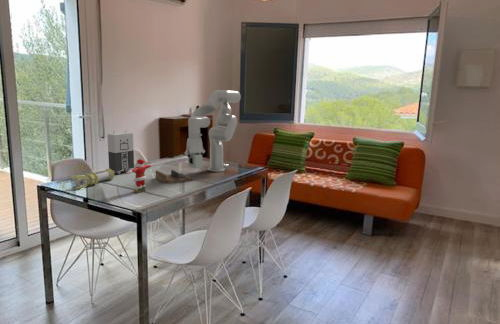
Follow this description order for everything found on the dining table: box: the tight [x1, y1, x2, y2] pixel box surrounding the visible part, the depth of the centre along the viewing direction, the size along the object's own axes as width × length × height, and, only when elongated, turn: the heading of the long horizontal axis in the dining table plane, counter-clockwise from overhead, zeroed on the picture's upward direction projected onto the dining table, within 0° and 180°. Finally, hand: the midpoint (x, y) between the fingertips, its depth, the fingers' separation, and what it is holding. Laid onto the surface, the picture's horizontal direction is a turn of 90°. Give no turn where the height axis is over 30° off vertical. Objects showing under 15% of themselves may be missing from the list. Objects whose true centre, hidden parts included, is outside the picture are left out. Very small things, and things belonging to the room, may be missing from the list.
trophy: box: [70, 168, 115, 190], centre depth 224 cm, size 8×8×30 cm
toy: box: [107, 129, 135, 175], centre depth 255 cm, size 15×7×30 cm, turn 145°
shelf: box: [155, 169, 192, 185], centre depth 242 cm, size 18×16×5 cm
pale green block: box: [187, 153, 204, 169], centre depth 249 cm, size 5×12×8 cm, turn 33°
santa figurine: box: [125, 158, 155, 194], centre depth 211 cm, size 25×6×19 cm, turn 159°
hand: (195, 162), depth 250 cm, fingers closed on pale green block, 5 cm apart
